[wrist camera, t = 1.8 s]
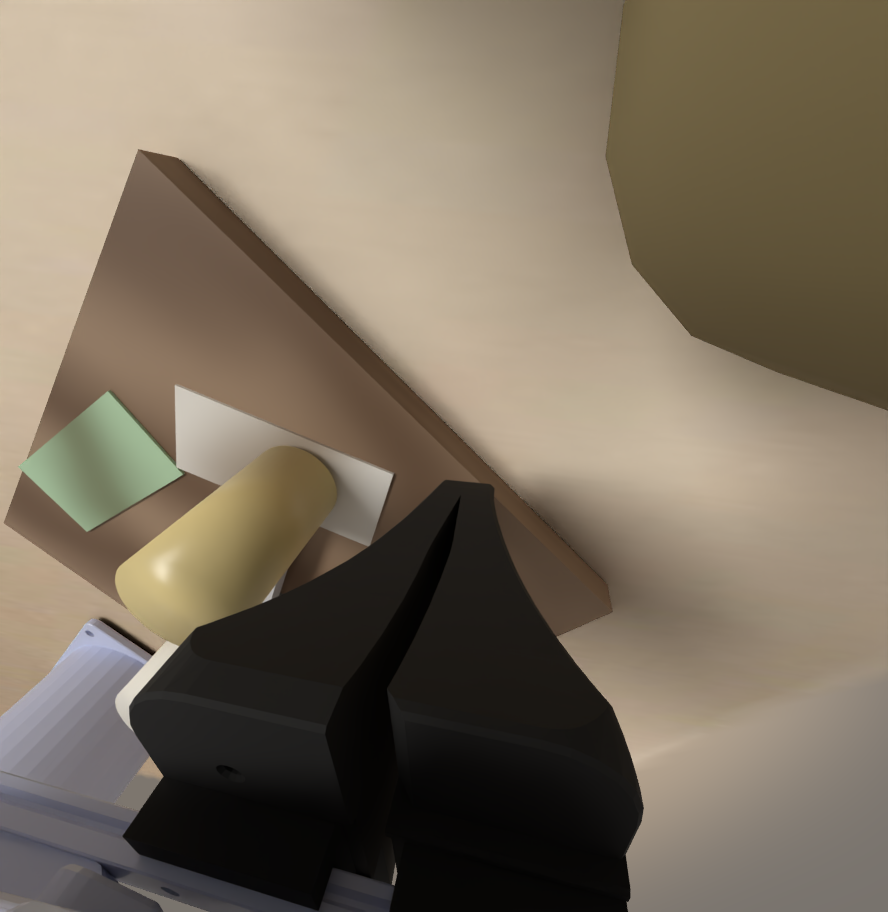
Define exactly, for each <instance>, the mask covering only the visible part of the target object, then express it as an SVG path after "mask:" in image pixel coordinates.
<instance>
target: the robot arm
mask: <svg viewBox="0 0 888 912" xmlns="http://www.w3.org/2000/svg"><path fill="white" fill-rule="evenodd" d="M494 489H495V488H494V487H493V486H492V485H491V484H485V483H475V482H464V481H454V480H444V481H443V482H442V483H441V484H440V485H439V486H438V487H437V488H436V489H435V490H434V491H433V492H432V493H431V494H430V495H429V496H428V497H426V498H425V499H424V500H423V501H422V502H421V503H420V504H419V505H418V506H417V507H416V508H415V509H414V510H413V511H412V512H410V513H409V514H408V515H407V516H406V517H405V518H404V519H403V520H402V521H400V522H399V523H398V524H397V525H396V526H394V527H393V528H392V529H391V530H389V531H388V532H387V533H386V534H384V535H383V536H382V537H381V538H379V539H378V540H377V541H375V542H374V543H373V544H371V545H370V546H368V547H367V548H366V549H364V550H363V551H361V552H360V553H358V554H357V555H355V556H353V557H352V558H350V559H349V560H347V561H345V562H344V563H342V564H340V565H339V566H337V567H335V568H333V569H331V570H329V571H328V572H326V573H324V574H322V575H320V576H319V577H317V578H315V579H313V580H311V581H309V582H307V583H305V584H303V585H301V586H299V587H297V588H295V589H293V590H291V591H289V592H287V593H284V594H282V595H280V596H278V597H275V598H273V599H271V600H268V601H266V602H264V603H261V604H259V605H256V606H254V607H252V608H249V609H246V610H243V611H241V612H238V613H235V614H233V615H230V616H227V617H225V618H222V619H219V620H216V621H214V622H211V623H208V624H205V625H202V626H199V627H196V628H195V629H194V631H193V632H192V633H191V634H190V635H189V636H188V637H187V638H186V639H185V640H184V641H183V643H182V644H181V645H180V646H179V647H178V648H177V649H176V651H175V652H174V653H173V654H172V655H171V656H170V657H169V659H168V660H167V661H166V662H165V663H164V664H163V665H162V667H161V668H160V669H159V670H158V671H157V672H156V673H155V675H154V676H153V677H152V678H151V679H150V680H149V681H148V683H147V684H146V685H145V686H144V687H143V688H142V689H141V691H140V692H139V693H138V694H137V695H136V696H135V697H134V699H133V701H132V702H131V704H130V706H129V717H130V725H131V727H132V729H133V731H134V732H133V731H132V730H131V729H130V728H129V727H128V726H127V725H126V723H125V722H124V721H123V720H122V718H121V717H120V715H119V713H118V711H117V709H116V704H115V699H116V696H117V694H118V693H119V692H120V691H121V690H122V689H123V688H124V687H125V686H126V685H127V684H128V683H129V681H130V680H131V679H132V678H133V677H134V676H135V675H136V674H137V673H138V672H139V671H140V669H141V668H142V667H143V666H144V665H145V664H146V663H147V662H148V661H149V660H150V659H151V657H152V655H150V654H149V653H147V652H146V651H144V650H143V649H141V648H140V647H138V646H137V645H136V644H134V643H133V642H131V641H130V640H128V639H127V638H125V637H124V636H122V635H121V634H119V633H118V632H116V631H115V630H113V629H112V628H110V627H109V626H108V625H106V624H105V623H103V622H102V621H100V620H98V619H91V620H89V621H88V622H87V623H86V624H85V625H84V626H83V628H82V629H81V630H80V632H79V633H78V635H77V636H76V637H75V639H74V640H73V641H72V643H71V644H70V646H69V647H68V648H67V650H66V651H65V652H64V654H63V655H62V657H61V658H60V659H59V661H58V662H57V663H56V665H55V666H54V668H53V669H52V670H51V672H50V673H49V674H48V675H47V676H46V677H44V678H43V679H42V680H41V681H40V682H39V683H38V684H37V685H35V686H34V687H33V688H32V689H31V690H30V691H29V692H28V693H27V694H25V695H24V696H23V697H22V698H21V699H20V700H19V701H18V702H16V703H15V704H14V705H13V706H12V707H11V708H10V709H9V710H8V711H6V712H5V713H4V714H3V715H2V716H1V717H0V912H163V910H162V909H161V907H160V905H159V904H158V903H157V902H155V901H153V900H151V899H149V898H147V897H145V896H143V895H141V894H139V893H137V892H135V891H133V890H131V889H128V888H127V887H125V886H123V885H120V884H119V883H118V881H119V882H122V883H125V884H128V885H131V886H134V887H137V888H140V889H143V890H146V891H149V892H152V893H155V894H158V895H161V896H164V897H167V898H170V899H173V900H176V901H179V902H182V903H185V904H188V905H191V906H194V907H197V908H200V909H203V910H206V911H209V912H628V909H627V902H628V901H629V899H630V883H629V876H628V869H627V861H626V852H627V850H628V848H629V846H630V844H631V842H632V840H633V838H634V836H635V834H636V832H637V830H638V828H639V826H640V824H641V821H642V815H643V809H644V807H643V802H642V797H641V791H640V787H639V783H638V779H637V776H636V772H635V769H634V765H633V762H632V758H631V755H630V752H629V749H628V747H627V744H626V741H625V738H624V735H623V733H622V730H621V728H620V725H619V723H618V720H617V718H616V715H615V713H614V710H613V708H612V706H611V705H610V704H609V702H608V701H607V700H606V699H605V698H604V697H603V696H602V694H601V693H600V692H599V691H598V690H597V689H596V687H595V686H594V685H593V684H592V683H591V681H590V680H589V679H588V678H587V676H586V675H585V674H584V673H583V672H582V670H581V669H580V668H579V667H578V665H577V664H576V663H575V662H574V660H573V659H572V658H571V656H570V655H569V654H568V652H567V651H566V650H565V648H564V647H563V646H562V644H561V643H560V642H559V640H558V639H557V637H556V636H555V634H554V633H553V631H552V630H551V628H550V627H549V625H548V624H547V622H546V621H545V619H544V618H543V616H542V614H541V613H540V611H539V610H538V608H537V607H536V605H535V603H534V602H533V600H532V598H531V596H530V595H529V593H528V591H527V589H526V588H525V586H524V584H523V582H522V580H521V578H520V576H519V574H518V572H517V570H516V568H515V565H514V563H513V561H512V559H511V556H510V554H509V551H508V549H507V546H506V544H505V541H504V538H503V535H502V532H501V529H500V525H499V522H498V518H497V514H496V509H495V504H494ZM149 756H150V757H151V758H152V760H153V761H154V763H155V764H156V766H157V767H158V769H159V770H160V772H161V773H162V774H163V776H164V777H163V778H162V779H161V781H160V782H159V784H158V785H157V787H156V788H155V790H154V791H153V793H152V794H151V795H150V797H149V798H148V800H147V801H146V803H145V804H144V805H143V807H142V808H141V810H140V811H138V810H134V809H131V808H127V807H124V806H120V805H117V804H114V803H115V802H116V800H117V799H118V798H119V796H120V795H121V794H122V792H123V791H124V790H125V788H126V787H127V785H128V784H129V783H130V782H131V780H132V779H133V778H134V776H135V775H136V774H137V772H138V771H139V770H140V768H141V767H142V766H143V764H144V763H145V762H146V760H147V759H148V758H149ZM395 862H396V868H397V873H398V874H397V878H396V883H395V886H394V885H392V879H393V873H394V868H395ZM626 901H627V902H626Z"/></svg>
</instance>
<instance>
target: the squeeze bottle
mask: <svg viewBox="0 0 888 912" xmlns="http://www.w3.org/2000/svg"><path fill="white" fill-rule="evenodd" d="M606 160H607V164H608V168H609V172H610V176H611V180H612V184H613V188H614V193H615V197H616V201H617V205H618V209H619V213H620V217H621V221H622V225H623V229H624V233H625V238H626V242H627V246H628V250H629V254H630V258H631V262H632V265H633V266H634V267H635V269H636V270H637V271H638V272H639V273H640V275H641V276H642V277H643V278H644V279H645V281H646V282H647V283H648V284H649V285H650V287H651V288H652V289H653V290H654V291H655V293H656V294H657V295H658V296H659V297H660V299H661V300H662V301H663V302H664V303H665V305H666V306H667V307H668V308H669V309H670V311H671V312H672V313H673V314H674V315H675V317H676V318H677V319H678V320H679V321H680V323H681V324H682V325H683V326H684V327H685V329H686V330H687V331H688V332H689V333H690V335H691V336H693V337H696V338H698V339H701V340H703V341H705V342H708V343H710V344H712V345H715V346H717V347H719V348H722V349H724V350H726V351H729V352H731V353H734V354H736V355H738V356H741V357H743V358H745V359H748V360H750V361H752V362H755V363H757V364H760V365H762V366H764V367H767V368H769V369H771V370H774V371H776V372H778V373H781V374H784V375H787V376H790V377H793V378H796V379H799V380H802V381H804V382H807V383H810V384H813V385H816V386H819V387H822V388H825V389H828V390H831V391H833V392H836V393H839V394H842V395H845V396H848V397H851V398H854V399H857V400H859V401H862V402H865V403H868V404H871V405H874V406H877V407H880V408H883V409H886V410H888V0H625V3H624V6H623V14H622V23H621V31H620V39H619V48H618V56H617V65H616V73H615V82H614V90H613V98H612V107H611V115H610V124H609V132H608V141H607V149H606Z"/></svg>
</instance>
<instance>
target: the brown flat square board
mask: <svg viewBox="0 0 888 912" xmlns="http://www.w3.org/2000/svg"><path fill="white" fill-rule="evenodd" d="M276 446H292V447H296V448H299V449H302V450H304V451H306V452H308V453H310V454H312V455H313V456H315V457H316V458H317V459H318V460H320V461H321V462H322V463H323V464H324V465H325V467H326V468H327V469H328V470H329V472H330V473H331V475H332V477H333V479H334V482H335V485H336V489H337V500H336V504H335V506H334V508H333V509H332V511H331V512H330V513H329V515H328V516H327V517H326V519H325V520H324V521H323V523H322V524H321V525H320V527H319V528H318V529H317V531H316V532H315V533H314V535H313V536H312V537H311V539H310V540H309V541H308V543H307V544H306V545H305V547H304V548H303V549H302V551H301V552H300V553H299V555H298V556H297V557H296V559H295V560H294V561H293V563H292V564H291V565H290V567H289V568H288V570H287V573H286V576H285V579H284V582H283V585H282V588H281V591H280V594H279V596H280V595H282V594H284V593H287V592H289V591H291V590H293V589H295V588H297V587H299V586H301V585H303V584H305V583H307V582H309V581H311V580H313V579H315V578H317V577H319V576H320V575H322V574H324V573H326V572H328V571H329V570H331V569H333V568H335V567H337V566H339V565H340V564H342V563H344V562H345V561H347V560H349V559H350V558H352V557H353V556H355V555H357V554H358V553H360V552H361V551H363V550H364V549H366V548H367V547H368V546H370V545H371V544H373V543H374V542H375V541H377V540H378V539H379V538H381V537H382V536H383V535H384V534H386V533H387V532H388V531H389V530H391V529H392V528H393V527H394V526H396V525H397V524H398V523H399V522H400V521H402V520H403V519H404V518H405V517H406V516H407V515H408V514H409V513H410V512H412V511H413V510H414V509H415V508H416V507H417V506H418V505H419V504H420V503H421V502H422V501H423V500H424V499H425V498H426V497H428V496H429V495H430V494H431V493H432V492H433V491H434V490H435V489H436V488H437V487H438V486H439V485H440V484H441V483H442V482H443V481H444V480H454V481H464V482H475V483H485V484H491V485H492V486H493V487H494V488H495V489H494V504H495V509H496V514H497V518H498V522H499V525H500V529H501V532H502V535H503V538H504V541H505V544H506V546H507V549H508V551H509V554H510V556H511V559H512V561H513V563H514V565H515V568H516V570H517V572H518V574H519V576H520V578H521V580H522V582H523V584H524V586H525V588H526V589H527V591H528V593H529V595H530V596H531V598H532V600H533V602H534V603H535V605H536V607H537V608H538V610H539V611H540V613H541V614H542V616H543V618H544V619H545V621H546V622H547V624H548V625H549V627H550V628H551V630H552V631H553V633H554V634H555V636H559V635H561V634H563V633H566V632H568V631H570V630H573V629H575V628H577V627H579V626H582V625H584V624H586V623H589V622H591V621H593V620H595V619H598V618H600V617H602V616H605V615H607V614H609V613H611V612H613V611H612V606H611V601H610V596H609V591H608V586H607V584H606V583H605V582H604V581H603V580H602V579H601V578H600V577H599V576H598V575H597V574H596V573H595V572H594V571H593V570H592V569H591V568H590V567H589V566H588V565H587V564H586V563H585V562H584V561H583V560H582V559H581V558H580V557H579V556H578V555H577V554H576V553H575V552H574V551H573V550H572V549H571V548H570V547H569V546H568V545H567V544H566V543H565V542H564V541H563V540H562V539H561V538H560V537H559V536H558V535H557V534H556V533H555V532H554V531H553V530H552V529H551V528H550V527H549V526H548V525H547V524H546V523H545V522H544V521H543V520H542V519H541V518H540V517H539V516H538V515H537V514H536V513H535V512H534V511H533V510H532V509H531V508H530V507H529V506H528V505H527V504H526V503H525V502H524V501H523V500H522V499H521V498H520V497H519V496H518V495H517V494H516V493H515V492H514V491H513V490H512V489H510V488H509V487H508V486H507V485H506V484H505V483H504V482H503V481H502V480H501V479H500V478H499V477H498V476H497V475H496V474H495V473H494V472H493V471H492V470H491V469H490V468H489V467H488V466H487V465H486V464H485V463H484V462H483V461H482V460H481V459H480V458H479V457H478V456H477V455H476V454H475V453H474V452H473V451H472V450H471V449H470V448H469V447H468V446H467V445H466V444H465V443H464V442H463V441H462V440H461V439H460V438H459V437H458V436H457V435H456V434H455V433H454V432H453V431H452V430H451V429H450V428H449V427H448V426H447V425H446V424H445V423H444V422H443V421H442V420H441V419H440V418H439V417H438V416H437V415H436V414H435V413H434V412H433V411H432V410H431V409H430V408H429V407H428V406H427V405H426V404H425V403H424V402H423V401H422V400H421V399H420V398H419V397H418V396H417V395H416V394H415V393H414V392H413V391H412V390H411V389H410V388H409V387H408V386H407V385H406V384H405V383H404V382H403V381H402V380H401V379H400V378H399V377H398V376H397V375H396V374H395V373H394V372H393V371H392V370H391V369H390V368H389V367H388V366H387V365H386V364H385V363H384V362H383V361H382V360H381V359H380V358H379V357H378V356H377V355H376V354H375V353H374V352H373V351H372V350H371V349H370V348H369V347H368V346H367V345H366V344H365V343H364V342H362V341H361V340H360V339H359V338H358V337H357V336H356V335H355V334H354V333H353V332H352V331H351V330H350V329H349V328H348V327H347V326H346V325H345V324H344V323H343V322H342V321H341V320H340V319H339V318H338V317H337V316H336V315H335V314H334V313H333V312H332V311H331V310H330V309H329V308H328V307H327V306H326V305H325V304H324V303H323V302H322V301H321V300H320V299H319V298H318V297H317V296H316V295H315V294H314V293H313V292H312V291H311V290H310V289H309V288H308V287H307V286H306V285H305V284H304V283H303V282H302V281H301V280H300V279H299V278H298V277H297V276H296V275H295V274H294V273H293V272H292V271H291V270H290V269H289V268H288V267H287V266H286V265H285V264H284V263H283V262H282V261H281V260H280V259H279V258H278V257H277V256H276V255H275V254H274V253H273V252H272V251H271V250H270V249H269V248H268V247H267V246H266V245H265V244H264V243H263V242H262V241H261V240H260V239H259V238H258V237H257V236H256V235H255V234H254V233H253V232H252V231H251V230H250V229H249V228H248V227H247V226H246V225H245V224H244V223H243V222H242V221H241V220H240V219H239V218H238V217H237V216H236V215H235V214H234V213H233V212H232V211H231V210H230V209H229V208H228V207H227V206H226V205H225V204H224V203H223V202H222V201H221V200H220V199H219V198H218V197H217V196H216V195H214V194H213V193H212V192H211V191H210V190H209V189H208V188H207V187H206V186H205V185H204V184H203V183H202V182H201V181H200V180H199V179H198V178H197V177H196V176H195V175H194V174H193V173H192V172H191V171H190V170H189V169H188V168H187V167H186V166H185V165H184V164H183V163H182V162H181V161H180V160H179V159H178V158H176V157H171V156H166V155H162V154H157V153H152V152H148V151H143V150H139V149H138V152H137V154H136V157H135V160H134V163H133V166H132V168H131V171H130V174H129V177H128V179H127V182H126V185H125V188H124V191H123V193H122V196H121V199H120V202H119V204H118V207H117V210H116V213H115V216H114V218H113V221H112V224H111V227H110V229H109V232H108V235H107V238H106V241H105V243H104V246H103V249H102V252H101V255H100V257H99V260H98V263H97V266H96V268H95V271H94V274H93V277H92V280H91V282H90V285H89V288H88V291H87V293H86V296H85V299H84V302H83V305H82V307H81V310H80V313H79V316H78V318H77V321H76V324H75V327H74V330H73V332H72V335H71V338H70V341H69V343H68V346H67V349H66V352H65V355H64V357H63V360H62V363H61V366H60V368H59V371H58V374H57V377H56V380H55V382H54V385H53V388H52V391H51V393H50V396H49V399H48V402H47V405H46V407H45V410H44V413H43V416H42V418H41V421H40V424H39V427H38V430H37V432H36V435H35V438H34V441H33V443H32V446H31V449H30V452H29V455H28V457H27V460H26V461H24V462H23V463H22V464H21V465H20V466H18V467H19V468H20V469H21V470H22V474H21V477H20V480H19V482H18V485H17V488H16V491H15V493H14V496H13V499H12V502H11V505H10V507H9V510H8V513H7V516H6V518H5V521H4V524H6V525H7V526H9V527H10V528H12V529H13V530H14V531H16V532H17V533H19V534H20V535H22V536H23V537H25V538H26V539H27V540H29V541H30V542H32V543H33V544H35V545H36V546H37V547H39V548H40V549H42V550H43V551H45V552H46V553H47V554H49V555H50V556H52V557H53V558H55V559H56V560H58V561H59V562H60V563H62V564H63V565H65V566H66V567H68V568H69V569H70V570H72V571H73V572H75V573H76V574H78V575H79V576H80V577H82V578H83V579H85V580H86V581H88V582H89V583H91V584H92V585H93V586H95V587H96V588H98V589H99V590H101V591H102V592H103V593H105V594H106V595H108V596H109V597H111V598H112V599H114V600H115V601H116V602H118V603H119V604H121V605H122V606H124V607H125V608H126V609H127V607H126V606H125V605H124V603H123V602H122V600H121V598H120V596H119V594H118V592H117V588H116V584H115V575H116V572H117V569H118V568H119V566H120V565H122V564H123V563H124V562H125V561H126V560H128V559H129V558H130V557H132V556H133V555H134V554H135V553H137V552H138V551H139V550H140V549H142V548H143V547H144V546H145V545H147V544H148V543H149V542H151V541H152V540H153V539H154V538H156V537H157V536H158V535H159V534H161V533H162V532H163V531H165V530H166V529H167V528H168V527H170V526H171V525H172V524H173V523H175V522H176V521H177V520H178V519H180V518H181V517H182V516H184V515H185V514H186V513H187V512H189V511H190V510H191V509H192V508H194V507H195V506H196V505H198V504H199V503H200V502H201V501H203V500H204V499H205V498H206V497H208V496H209V495H210V494H211V493H213V492H214V491H215V490H217V489H218V488H219V487H220V486H222V485H223V484H224V483H225V482H227V481H228V480H229V479H231V478H232V477H233V476H234V475H236V474H237V473H238V472H239V471H241V470H242V469H243V468H244V467H246V466H247V465H248V464H250V463H251V462H252V461H253V460H255V459H256V458H257V457H258V456H260V455H261V454H262V453H264V452H265V451H266V450H268V449H270V448H272V447H276Z"/></svg>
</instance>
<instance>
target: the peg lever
mask: <svg viewBox="0 0 888 912" xmlns="http://www.w3.org/2000/svg"><path fill="white" fill-rule="evenodd" d="M336 500H337V489H336V485H335V482H334V479H333V477H332V475H331V473H330V472H329V470H328V469H327V468H326V467H325V465H324V464H323V463H322V462H321V461H320V460H318V459H317V458H316V457H315V456H313V455H312V454H310V453H308V452H306V451H304V450H302V449H299V448H296V447H292V446H276V447H272V448H270V449H268V450H266V451H265V452H264V453H262V454H261V455H260V456H258V457H257V458H256V459H255V460H253V461H252V462H251V463H250V464H248V465H247V466H246V467H244V468H243V469H242V470H241V471H239V472H238V473H237V474H236V475H234V476H233V477H232V478H231V479H229V480H228V481H227V482H225V483H224V484H223V485H222V486H220V487H219V488H218V489H217V490H215V491H214V492H213V493H211V494H210V495H209V496H208V497H206V498H205V499H204V500H203V501H201V502H200V503H199V504H198V505H196V506H195V507H194V508H192V509H191V510H190V511H189V512H187V513H186V514H185V515H184V516H182V517H181V518H180V519H178V520H177V521H176V522H175V523H173V524H172V525H171V526H170V527H168V528H167V529H166V530H165V531H163V532H162V533H161V534H159V535H158V536H157V537H156V538H154V539H153V540H152V541H151V542H149V543H148V544H147V545H145V546H144V547H143V548H142V549H140V550H139V551H138V552H137V553H135V554H134V555H133V556H132V557H130V558H129V559H128V560H126V561H125V562H124V563H123V564H122V565H120V566H119V568H118V569H117V572H116V575H115V584H116V588H117V592H118V594H119V596H120V598H121V600H122V602H123V603H124V605H125V606H126V607H127V609H128V610H129V611H130V612H131V613H132V615H133V616H134V617H135V618H136V619H137V620H138V621H139V622H141V623H142V624H143V625H144V626H145V627H147V628H148V629H149V630H150V631H152V632H153V633H155V634H156V635H158V636H160V637H161V638H163V639H165V640H167V641H166V642H165V643H164V644H163V645H162V647H161V648H160V649H159V650H158V651H157V652H156V653H155V654H154V655H153V656H152V657H151V659H150V660H149V661H148V662H147V663H146V664H145V665H144V666H143V667H142V668H141V669H140V671H139V672H138V673H137V674H136V675H135V676H134V677H133V678H132V679H131V680H130V681H129V683H128V684H127V685H126V686H125V687H124V688H123V689H122V690H121V691H120V692H119V693H118V694H117V696H116V699H115V704H116V709H117V711H118V713H119V715H120V717H121V718H122V720H123V721H124V722H125V723H126V725H127V726H128V727H129V728H130V729H131V730H132V731H133V729H132V727H131V725H130V717H129V706H130V704H131V702H132V701H133V699H134V697H135V696H136V695H137V694H138V693H139V692H140V691H141V689H142V688H143V687H144V686H145V685H146V684H147V683H148V681H149V680H150V679H151V678H152V677H153V676H154V675H155V673H156V672H157V671H158V670H159V669H160V668H161V667H162V665H163V664H164V663H165V662H166V661H167V660H168V659H169V657H170V656H171V655H172V654H173V653H174V652H175V651H176V649H177V648H178V647H179V646H180V645H181V644H182V643H183V641H184V640H185V639H186V638H187V637H188V636H189V635H190V634H191V633H192V632H193V631H194V629H195V628H196V627H199V626H202V625H205V624H208V623H211V622H214V621H216V620H219V619H222V618H225V617H227V616H230V615H233V614H235V613H238V612H241V611H243V610H246V609H249V608H252V607H254V606H256V605H259V604H261V603H264V602H266V601H268V600H271V599H273V598H275V597H278V596H279V594H280V591H281V588H282V585H283V582H284V579H285V576H286V573H287V570H288V568H289V567H290V565H291V564H292V563H293V561H294V560H295V559H296V557H297V556H298V555H299V553H300V552H301V551H302V549H303V548H304V547H305V545H306V544H307V543H308V541H309V540H310V539H311V537H312V536H313V535H314V533H315V532H316V531H317V529H318V528H319V527H320V525H321V524H322V523H323V521H324V520H325V519H326V517H327V516H328V515H329V513H330V512H331V511H332V509H333V508H334V506H335V504H336ZM133 732H134V731H133Z"/></svg>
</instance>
